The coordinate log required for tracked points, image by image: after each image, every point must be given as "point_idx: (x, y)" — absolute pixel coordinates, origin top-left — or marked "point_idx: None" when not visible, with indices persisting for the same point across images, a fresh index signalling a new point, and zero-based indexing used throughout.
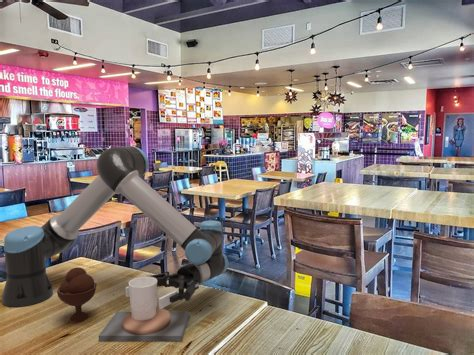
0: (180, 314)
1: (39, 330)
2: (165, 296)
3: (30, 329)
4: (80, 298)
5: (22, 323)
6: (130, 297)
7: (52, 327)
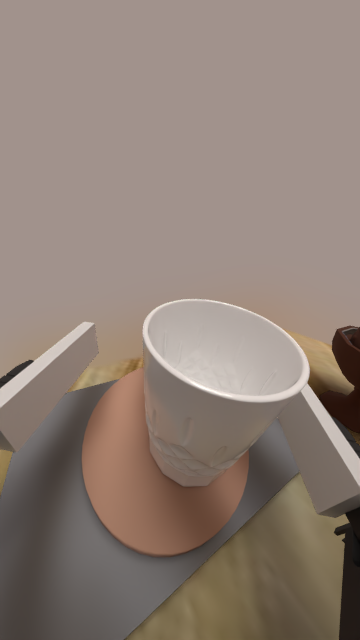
0: (28, 634)
1: (314, 358)
2: (66, 338)
3: (325, 356)
4: (336, 348)
5: None
6: (220, 346)
7: (316, 368)
